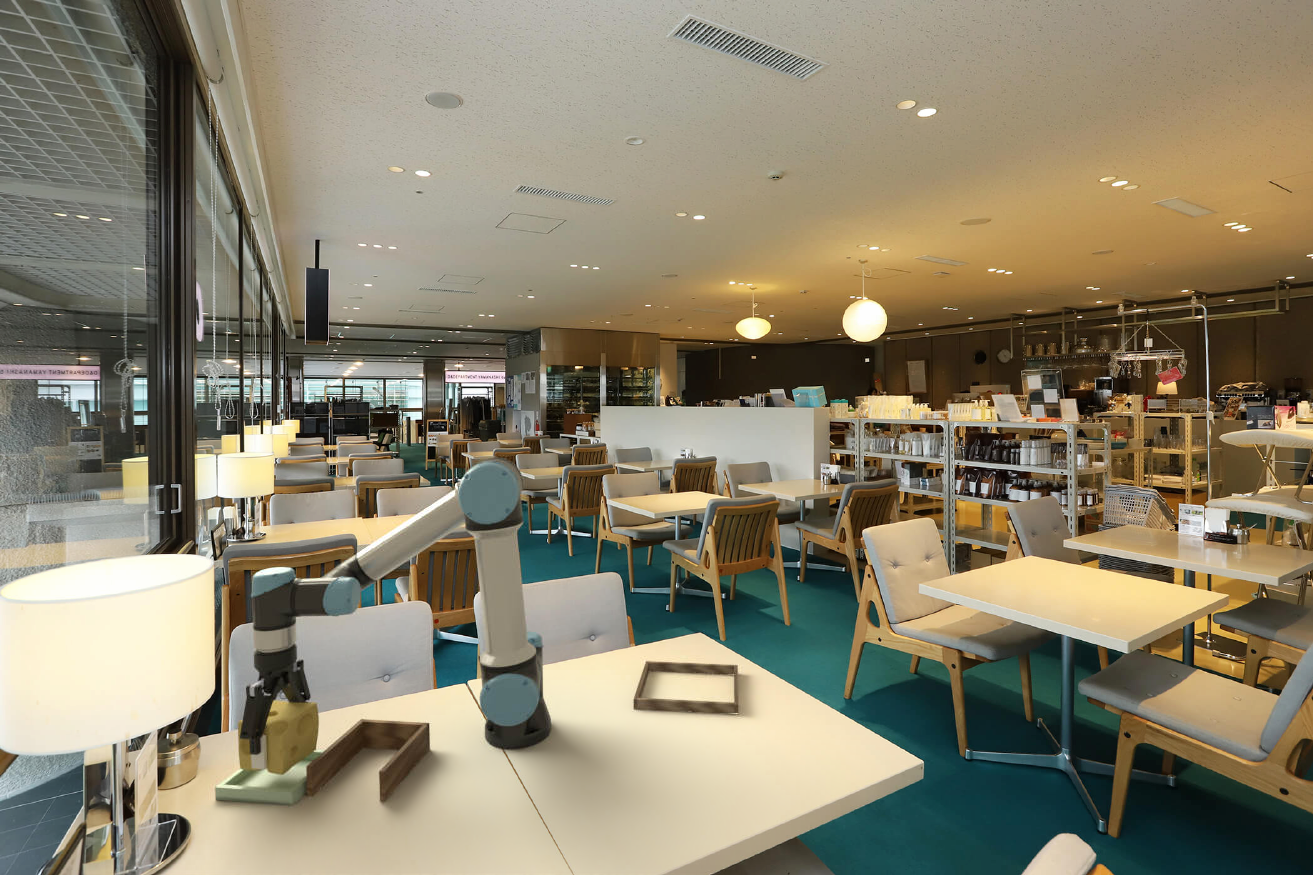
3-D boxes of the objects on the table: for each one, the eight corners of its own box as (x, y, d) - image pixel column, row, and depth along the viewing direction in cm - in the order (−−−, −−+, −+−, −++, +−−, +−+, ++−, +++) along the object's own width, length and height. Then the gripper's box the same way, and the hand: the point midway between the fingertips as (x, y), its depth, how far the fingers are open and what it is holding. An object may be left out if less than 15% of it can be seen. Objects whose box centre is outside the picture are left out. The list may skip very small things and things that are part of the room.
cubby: (430, 749, 145) (429, 722, 144) (384, 801, 126) (383, 771, 126) (361, 745, 147) (361, 718, 146) (307, 796, 128) (306, 766, 127)
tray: (339, 761, 140) (338, 750, 140) (292, 805, 125) (291, 792, 125) (269, 757, 142) (269, 746, 142) (215, 799, 127) (215, 787, 127)
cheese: (283, 776, 127) (281, 726, 126) (235, 770, 129) (233, 720, 128) (320, 748, 137) (319, 701, 137) (275, 743, 139) (274, 697, 139)
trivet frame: (737, 673, 184) (737, 665, 184) (738, 714, 160) (738, 704, 160) (646, 669, 187) (646, 660, 187) (633, 709, 163) (633, 699, 163)
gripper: (295, 625, 143) (298, 723, 145) (213, 667, 121) (218, 783, 122) (327, 627, 143) (330, 725, 144) (251, 669, 120) (255, 786, 121)
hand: (278, 752), depth 133 cm, fingers closed on cheese, 10 cm apart
